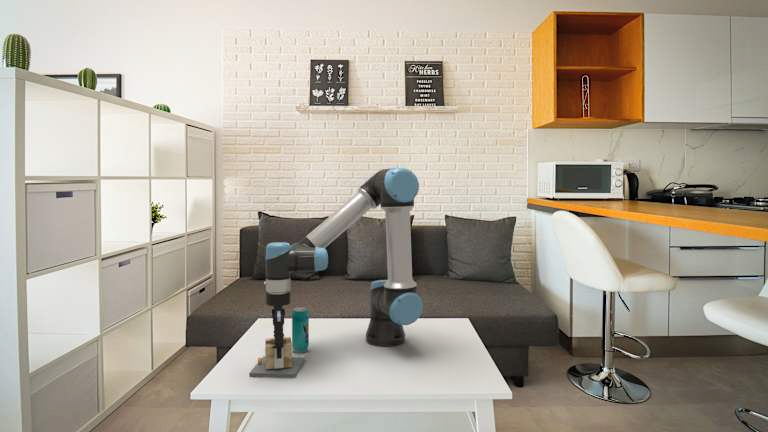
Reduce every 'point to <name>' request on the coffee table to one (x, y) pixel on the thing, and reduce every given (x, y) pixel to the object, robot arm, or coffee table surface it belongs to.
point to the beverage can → (300, 329)
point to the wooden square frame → (270, 352)
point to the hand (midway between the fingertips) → (278, 362)
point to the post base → (277, 369)
